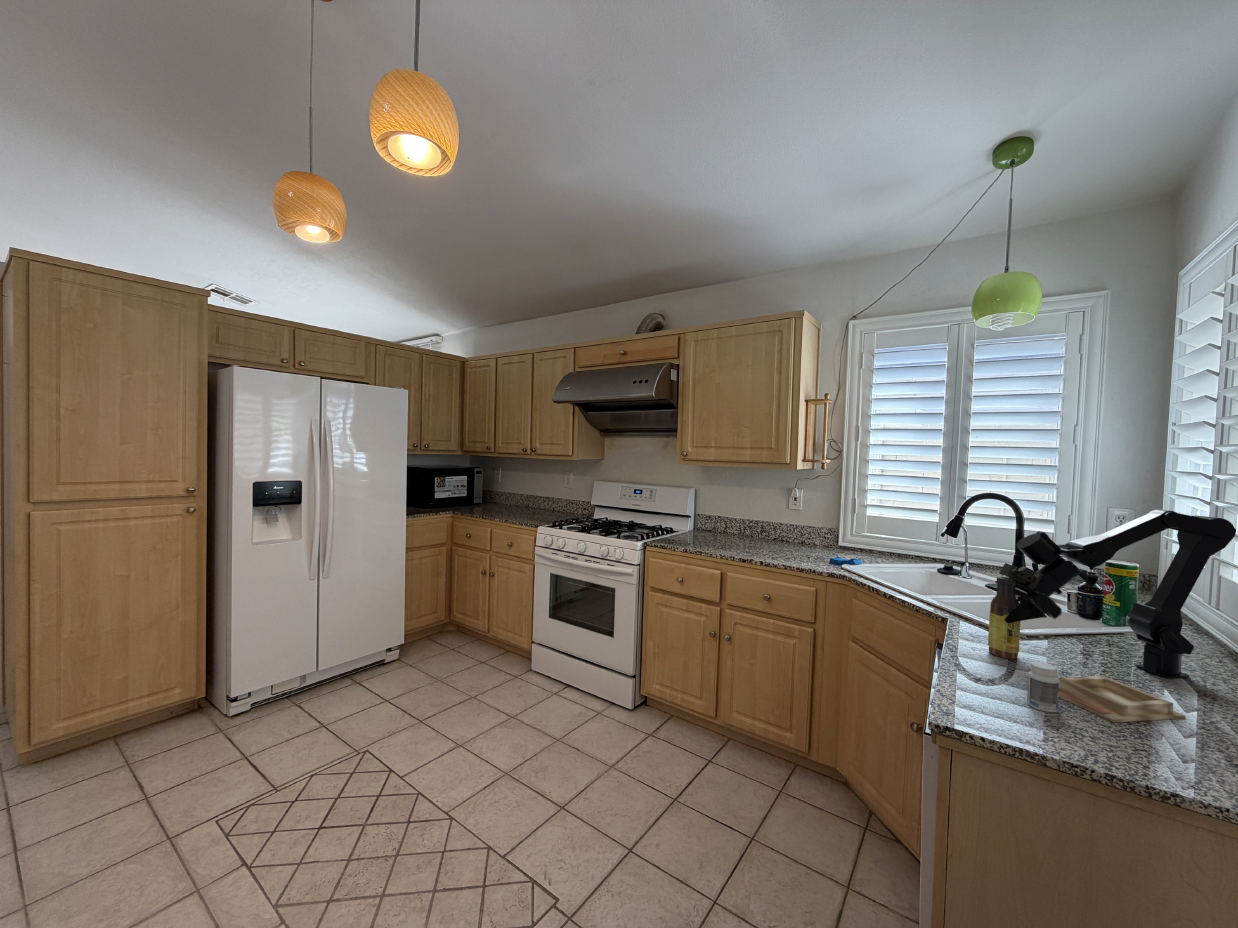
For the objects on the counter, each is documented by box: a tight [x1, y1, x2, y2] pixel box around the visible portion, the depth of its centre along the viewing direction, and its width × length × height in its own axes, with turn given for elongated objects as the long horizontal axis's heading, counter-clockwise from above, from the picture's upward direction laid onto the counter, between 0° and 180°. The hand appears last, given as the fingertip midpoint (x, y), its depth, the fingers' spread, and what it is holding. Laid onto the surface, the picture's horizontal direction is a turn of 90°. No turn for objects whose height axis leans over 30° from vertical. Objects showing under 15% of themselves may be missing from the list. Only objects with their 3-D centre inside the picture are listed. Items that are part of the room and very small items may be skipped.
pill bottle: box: [1026, 661, 1060, 713], centre depth 97 cm, size 5×5×8 cm
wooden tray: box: [1057, 675, 1186, 723], centre depth 100 cm, size 17×14×2 cm
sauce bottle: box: [987, 576, 1021, 660], centre depth 123 cm, size 6×6×20 cm
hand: (998, 617), depth 124 cm, fingers open, 7 cm apart
